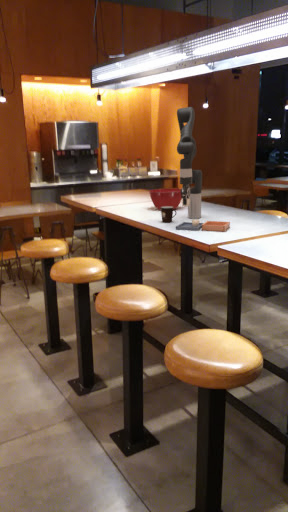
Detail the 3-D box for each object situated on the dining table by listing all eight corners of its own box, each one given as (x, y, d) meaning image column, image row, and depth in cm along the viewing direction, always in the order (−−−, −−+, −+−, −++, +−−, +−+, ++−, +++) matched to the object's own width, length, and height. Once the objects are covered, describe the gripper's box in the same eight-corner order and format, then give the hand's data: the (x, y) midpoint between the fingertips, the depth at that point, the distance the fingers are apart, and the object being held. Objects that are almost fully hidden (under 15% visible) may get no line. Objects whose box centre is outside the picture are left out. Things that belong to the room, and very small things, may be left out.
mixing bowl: (143, 208, 347) (142, 189, 343) (173, 205, 359) (173, 187, 355) (158, 213, 322) (158, 192, 318) (190, 209, 334) (190, 190, 330)
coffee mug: (158, 221, 287) (158, 206, 285) (170, 220, 290) (170, 205, 288) (165, 224, 277) (165, 209, 274) (177, 223, 280) (177, 208, 277)
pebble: (193, 226, 265) (193, 219, 264) (199, 226, 263) (200, 219, 262) (191, 227, 261) (191, 220, 260) (197, 227, 259) (198, 220, 258)
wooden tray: (207, 226, 266) (207, 220, 265) (229, 227, 261) (229, 221, 260) (201, 230, 254) (201, 224, 253) (224, 231, 248) (224, 226, 248)
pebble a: (183, 205, 264) (183, 198, 263) (190, 205, 262) (190, 198, 261) (181, 206, 260) (181, 199, 259) (188, 206, 258) (188, 199, 257)
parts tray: (183, 224, 273) (183, 222, 273) (204, 225, 268) (204, 223, 267) (175, 229, 259) (175, 226, 259) (197, 230, 254) (197, 227, 253)
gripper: (183, 175, 264) (183, 202, 269) (176, 177, 252) (176, 205, 256) (195, 175, 261) (195, 202, 266) (188, 177, 249) (188, 206, 253)
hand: (185, 204), depth 261 cm, fingers closed on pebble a, 4 cm apart
